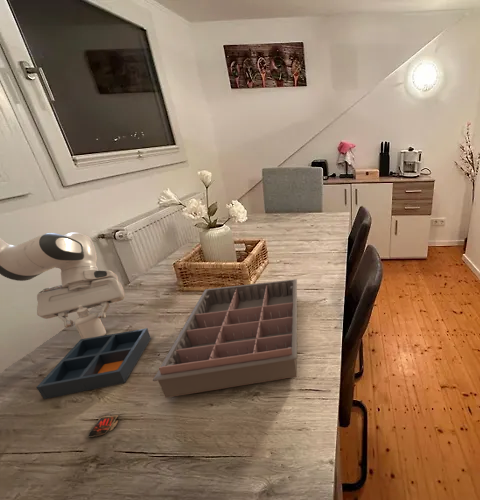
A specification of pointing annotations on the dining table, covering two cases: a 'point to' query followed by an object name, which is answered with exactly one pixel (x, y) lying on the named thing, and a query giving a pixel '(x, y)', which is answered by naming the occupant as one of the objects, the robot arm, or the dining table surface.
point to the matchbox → (103, 425)
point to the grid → (96, 363)
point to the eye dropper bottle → (88, 324)
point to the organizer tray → (234, 339)
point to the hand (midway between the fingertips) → (86, 322)
